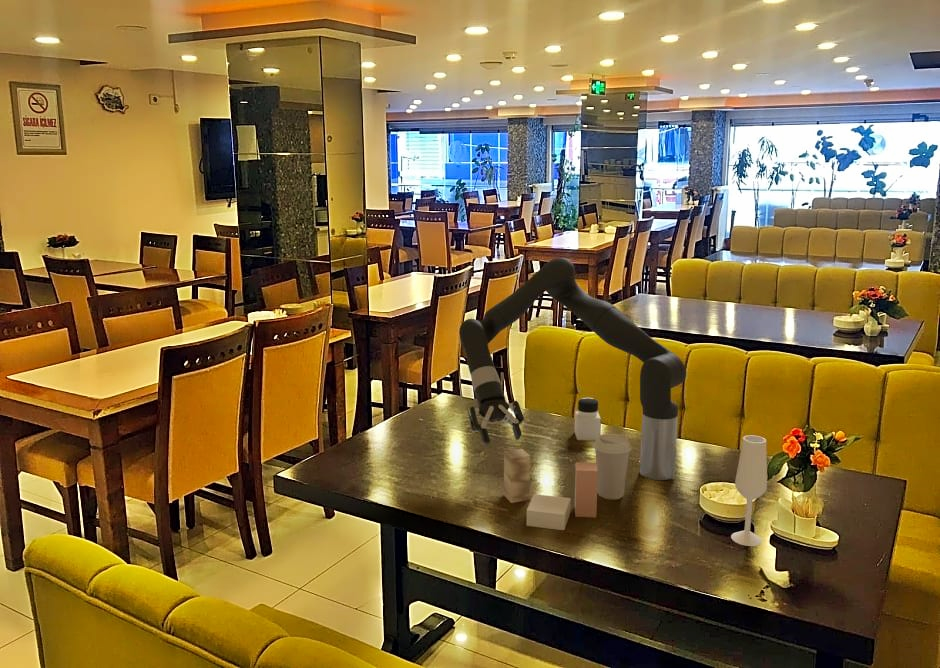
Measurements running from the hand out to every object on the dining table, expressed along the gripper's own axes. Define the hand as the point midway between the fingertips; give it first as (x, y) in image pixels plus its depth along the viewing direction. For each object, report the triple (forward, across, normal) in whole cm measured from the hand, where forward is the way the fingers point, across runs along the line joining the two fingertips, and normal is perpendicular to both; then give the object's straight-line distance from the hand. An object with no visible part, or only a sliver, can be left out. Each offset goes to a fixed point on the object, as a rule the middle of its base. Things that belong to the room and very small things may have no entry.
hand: (503, 441), depth 201 cm
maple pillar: (+15, 0, -2) cm, 15 cm away
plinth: (+24, -3, +8) cm, 26 cm away
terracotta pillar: (+24, -13, +7) cm, 28 cm away
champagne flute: (+42, -41, +24) cm, 63 cm away
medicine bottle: (-7, -37, -26) cm, 46 cm away
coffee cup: (+20, -24, +2) cm, 31 cm away
